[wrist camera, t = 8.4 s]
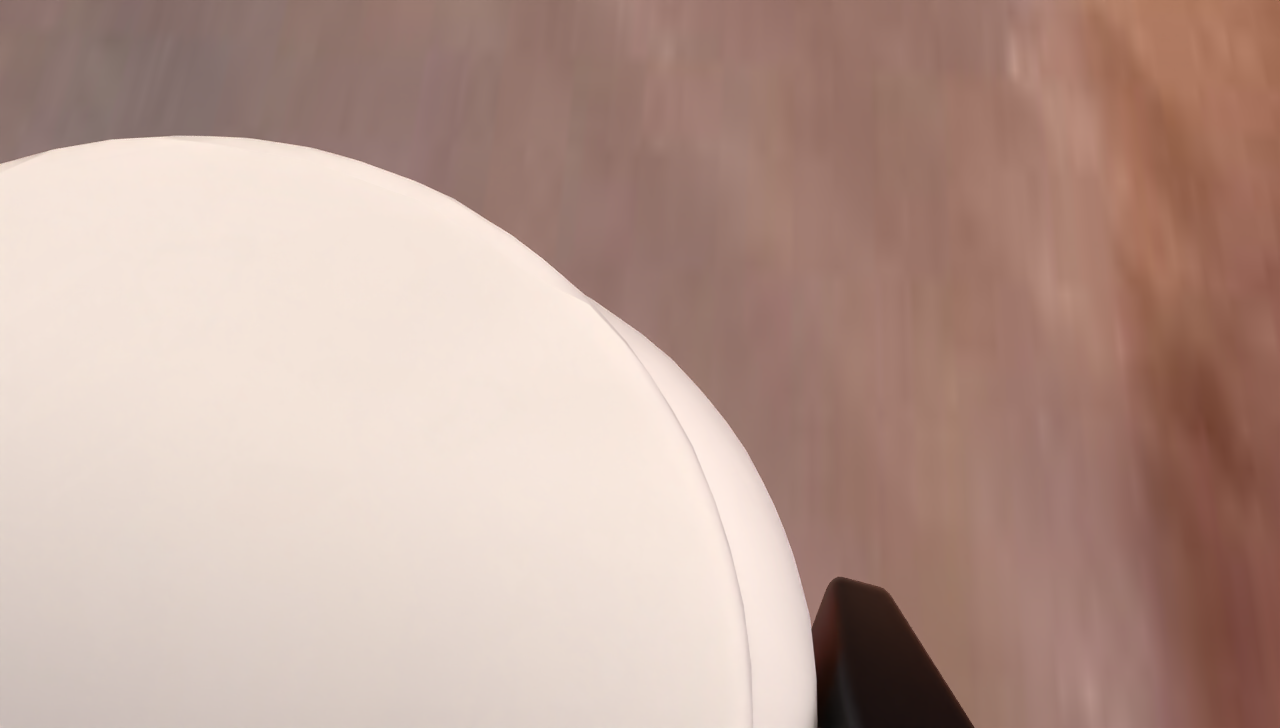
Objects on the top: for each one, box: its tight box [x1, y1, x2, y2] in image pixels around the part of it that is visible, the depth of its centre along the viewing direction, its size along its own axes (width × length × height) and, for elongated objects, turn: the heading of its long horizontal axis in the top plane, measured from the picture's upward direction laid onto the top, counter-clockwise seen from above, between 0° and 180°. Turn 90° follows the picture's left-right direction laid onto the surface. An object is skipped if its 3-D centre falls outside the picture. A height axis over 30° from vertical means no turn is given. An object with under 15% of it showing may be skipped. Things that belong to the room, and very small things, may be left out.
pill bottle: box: [0, 136, 818, 728], centre depth 9 cm, size 6×6×11 cm
